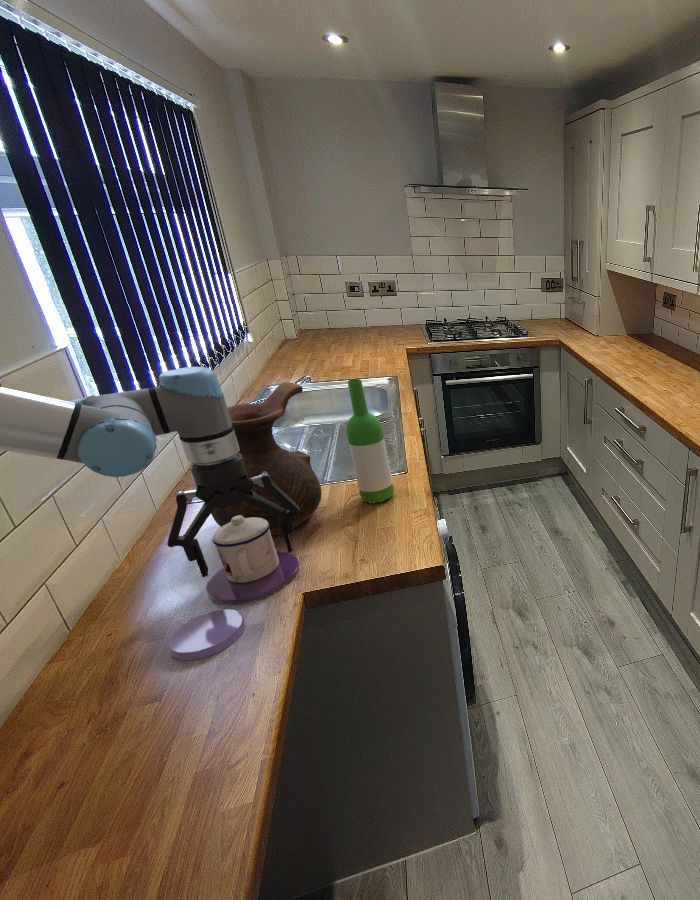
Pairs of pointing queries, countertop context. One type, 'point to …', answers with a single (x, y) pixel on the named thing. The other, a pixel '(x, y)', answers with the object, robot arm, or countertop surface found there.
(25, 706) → the countertop surface
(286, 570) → the saucer
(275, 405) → the jug
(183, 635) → the lilac dish
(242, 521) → the teacup with lid
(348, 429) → the wine bottle
